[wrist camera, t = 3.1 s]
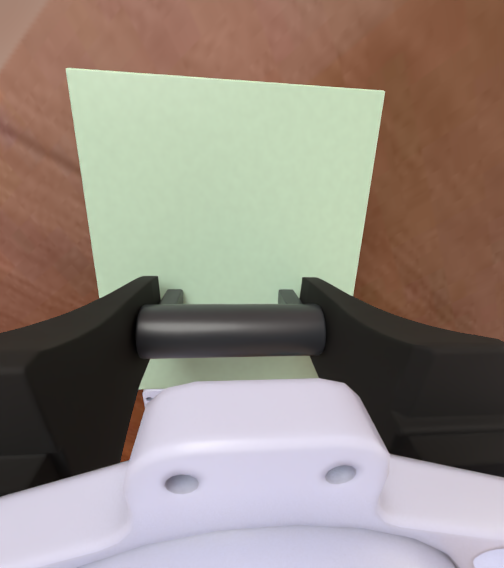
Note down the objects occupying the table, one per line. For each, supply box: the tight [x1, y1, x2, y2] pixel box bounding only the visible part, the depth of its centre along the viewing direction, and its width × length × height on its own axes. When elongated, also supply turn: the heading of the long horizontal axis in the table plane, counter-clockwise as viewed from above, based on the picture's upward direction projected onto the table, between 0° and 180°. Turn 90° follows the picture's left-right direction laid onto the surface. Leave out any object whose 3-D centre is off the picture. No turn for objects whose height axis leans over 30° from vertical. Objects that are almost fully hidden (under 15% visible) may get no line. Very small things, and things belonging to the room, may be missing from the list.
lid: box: [66, 68, 385, 389], centre depth 11 cm, size 13×12×5 cm
